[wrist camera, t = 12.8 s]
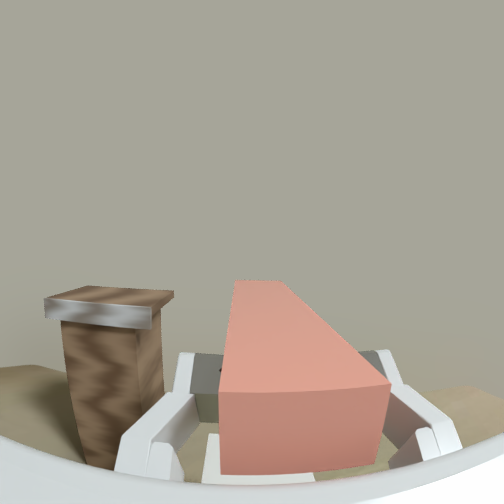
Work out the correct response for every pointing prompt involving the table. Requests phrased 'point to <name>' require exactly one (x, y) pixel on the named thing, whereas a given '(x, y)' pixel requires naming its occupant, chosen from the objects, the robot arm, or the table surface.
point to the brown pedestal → (110, 361)
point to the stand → (214, 477)
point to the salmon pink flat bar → (293, 389)
